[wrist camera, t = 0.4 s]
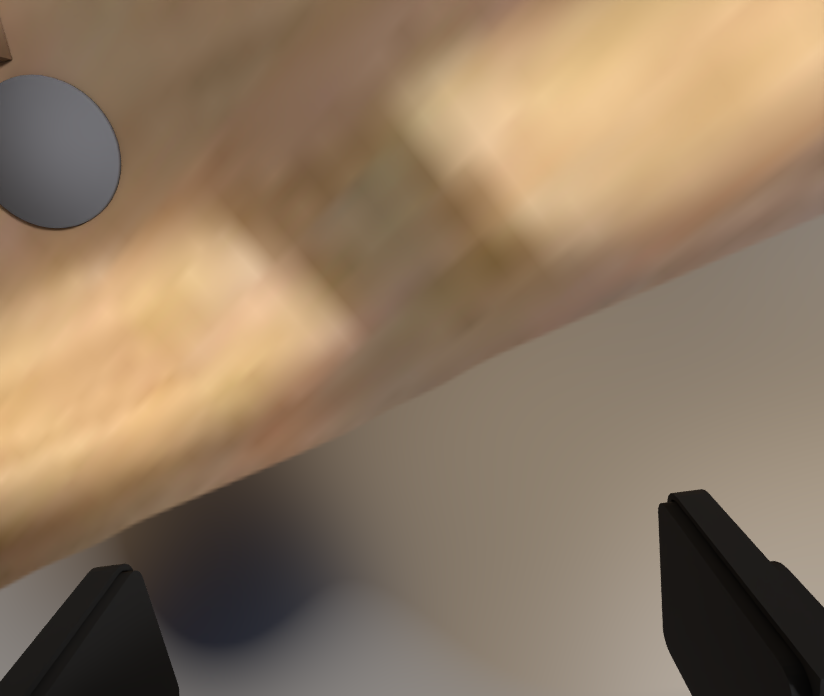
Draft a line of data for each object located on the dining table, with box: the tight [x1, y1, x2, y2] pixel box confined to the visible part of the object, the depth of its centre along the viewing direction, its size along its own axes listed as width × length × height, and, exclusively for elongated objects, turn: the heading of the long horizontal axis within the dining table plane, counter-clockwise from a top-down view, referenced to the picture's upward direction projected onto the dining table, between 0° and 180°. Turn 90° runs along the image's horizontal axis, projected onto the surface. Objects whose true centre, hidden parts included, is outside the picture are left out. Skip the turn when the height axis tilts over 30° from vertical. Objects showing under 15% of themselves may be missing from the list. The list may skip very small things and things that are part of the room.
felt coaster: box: [0, 75, 121, 228], centre depth 37 cm, size 9×9×1 cm
